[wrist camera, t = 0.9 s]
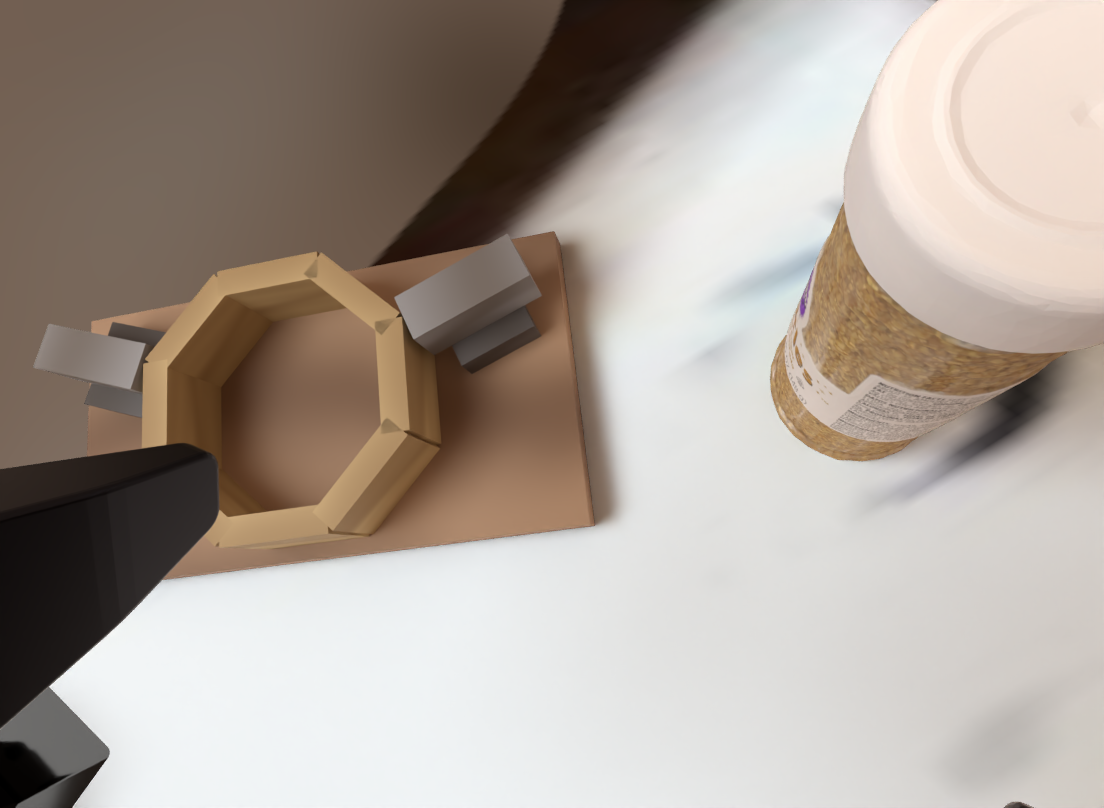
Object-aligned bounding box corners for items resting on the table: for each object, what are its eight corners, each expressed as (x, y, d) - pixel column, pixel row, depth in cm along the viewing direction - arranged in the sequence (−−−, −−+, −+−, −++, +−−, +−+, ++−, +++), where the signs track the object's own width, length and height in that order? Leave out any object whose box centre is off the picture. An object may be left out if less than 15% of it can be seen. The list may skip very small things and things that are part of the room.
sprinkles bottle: (774, 305, 22) (881, -65, 9) (940, 315, 21) (1335, -85, 8) (762, 457, 21) (861, 292, 8) (934, 475, 20) (1365, 319, 7)
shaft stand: (594, 525, 21) (574, 519, 18) (106, 586, 24) (7, 591, 21) (560, 244, 24) (535, 190, 20) (114, 330, 26) (24, 295, 23)
